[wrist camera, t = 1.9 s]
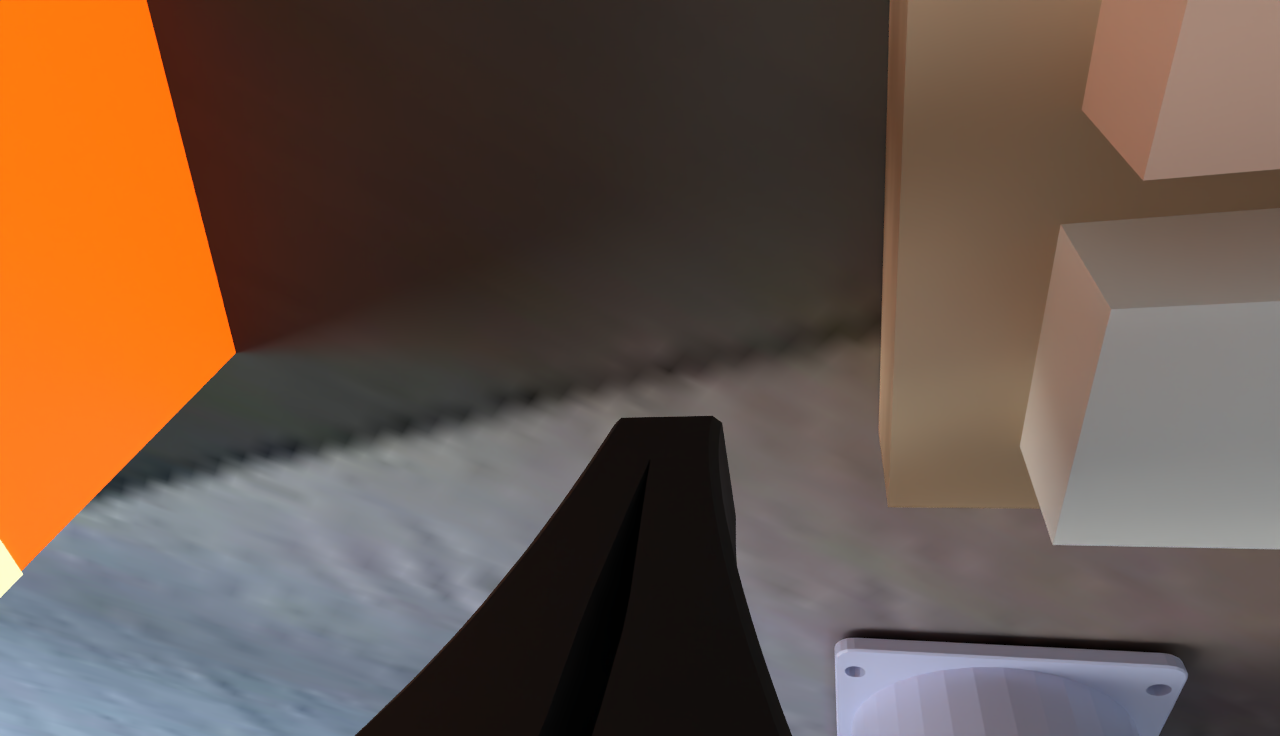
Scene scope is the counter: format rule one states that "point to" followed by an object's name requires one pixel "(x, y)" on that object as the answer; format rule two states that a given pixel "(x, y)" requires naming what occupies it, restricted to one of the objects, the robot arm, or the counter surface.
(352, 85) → the counter surface
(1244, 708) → the counter surface
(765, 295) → the counter surface
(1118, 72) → the terracotta tile
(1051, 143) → the flat wooden plank
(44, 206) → the orange juice
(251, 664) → the counter surface
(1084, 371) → the cream tile
